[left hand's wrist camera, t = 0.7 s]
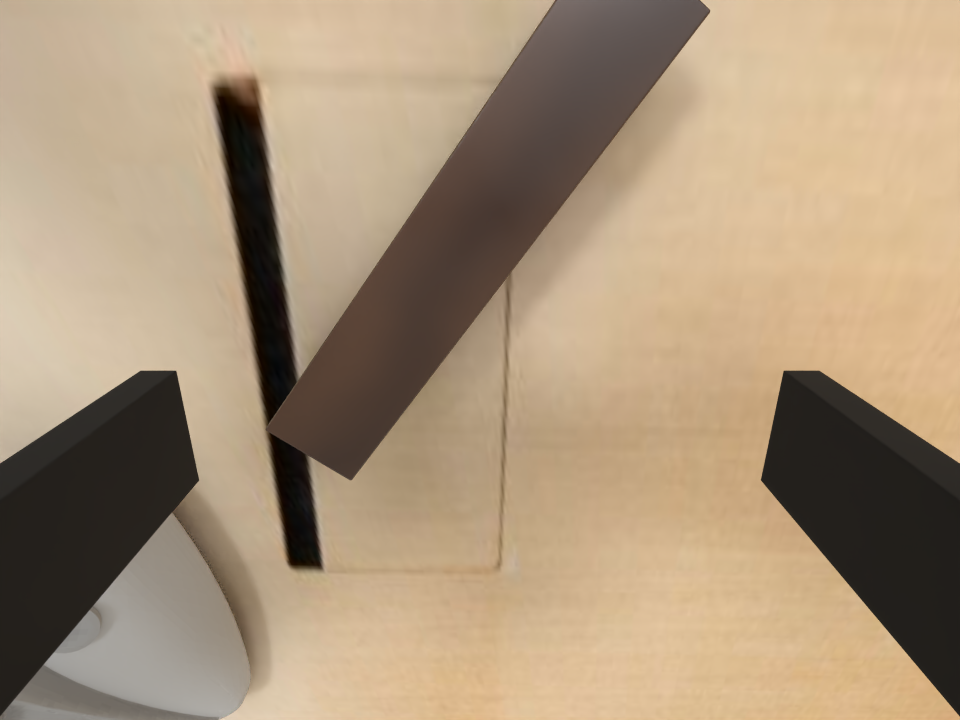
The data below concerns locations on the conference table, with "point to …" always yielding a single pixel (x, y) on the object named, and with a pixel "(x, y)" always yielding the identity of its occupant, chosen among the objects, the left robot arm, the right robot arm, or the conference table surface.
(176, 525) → the projector
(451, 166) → the beam
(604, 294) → the conference table surface
